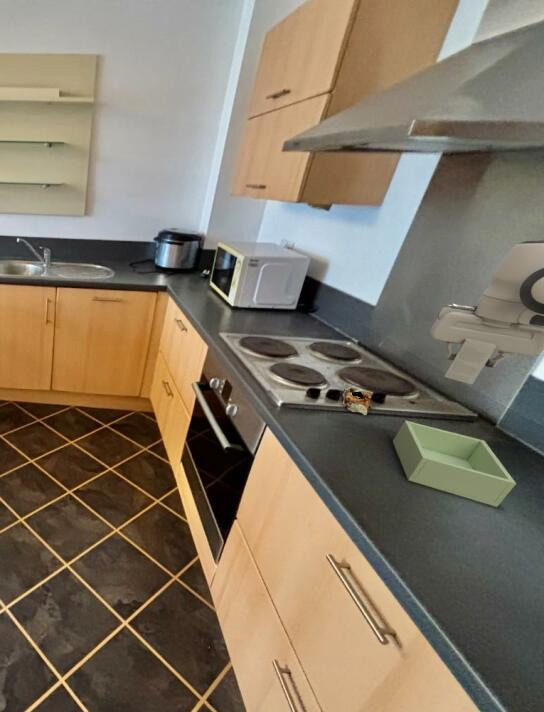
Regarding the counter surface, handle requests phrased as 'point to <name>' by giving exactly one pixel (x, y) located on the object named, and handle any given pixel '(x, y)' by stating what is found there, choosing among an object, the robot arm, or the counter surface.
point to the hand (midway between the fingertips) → (468, 362)
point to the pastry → (356, 400)
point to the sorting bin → (452, 463)
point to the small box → (470, 361)
